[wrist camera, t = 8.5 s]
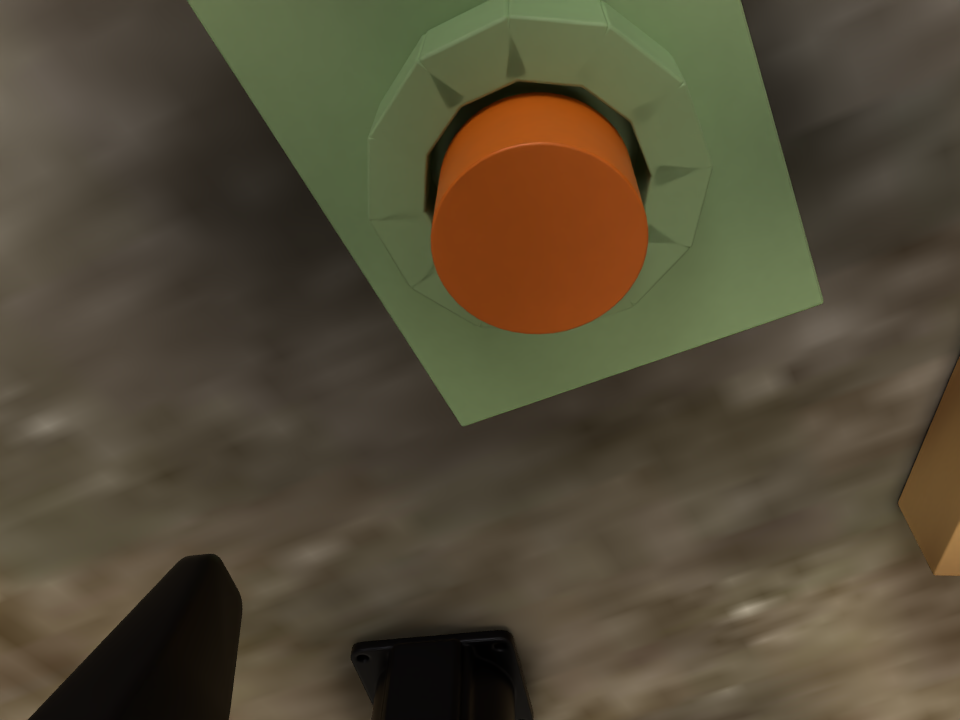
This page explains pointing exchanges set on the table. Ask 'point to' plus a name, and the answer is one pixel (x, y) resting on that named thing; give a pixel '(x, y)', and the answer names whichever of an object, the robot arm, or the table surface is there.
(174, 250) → the table surface
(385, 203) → the green flat block
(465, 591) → the table surface
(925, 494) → the board
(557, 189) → the orange short cylinder
